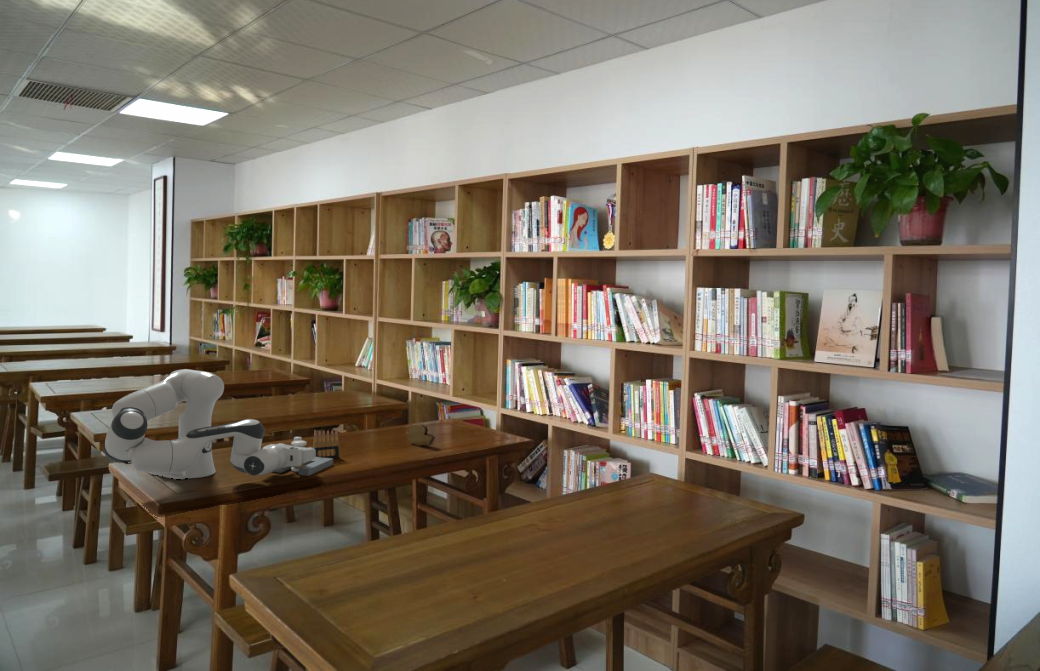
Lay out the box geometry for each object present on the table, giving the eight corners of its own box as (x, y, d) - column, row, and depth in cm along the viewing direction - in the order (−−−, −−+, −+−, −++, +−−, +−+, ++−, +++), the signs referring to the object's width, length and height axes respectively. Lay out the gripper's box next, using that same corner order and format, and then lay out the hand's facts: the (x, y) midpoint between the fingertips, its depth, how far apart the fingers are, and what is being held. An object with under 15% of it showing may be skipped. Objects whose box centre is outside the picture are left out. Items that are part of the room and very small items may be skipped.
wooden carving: (437, 446, 325) (437, 425, 324) (431, 448, 321) (431, 426, 320) (409, 441, 333) (409, 420, 332) (402, 443, 329) (403, 422, 328)
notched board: (271, 471, 274) (271, 444, 273) (297, 460, 291) (298, 435, 291) (308, 475, 270) (308, 448, 269) (332, 464, 287) (333, 438, 287)
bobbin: (288, 471, 276) (288, 443, 275) (296, 467, 281) (296, 440, 280) (300, 472, 274) (301, 444, 274) (308, 469, 280) (309, 441, 279)
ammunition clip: (313, 460, 293) (313, 431, 293) (312, 459, 295) (312, 430, 294) (338, 457, 299) (339, 429, 298) (337, 456, 301) (338, 428, 300)
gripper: (255, 461, 268) (276, 453, 281) (303, 467, 262) (323, 458, 276) (255, 444, 267) (276, 437, 280) (303, 450, 262) (323, 442, 275)
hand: (300, 448), depth 278 cm, fingers open, 8 cm apart
